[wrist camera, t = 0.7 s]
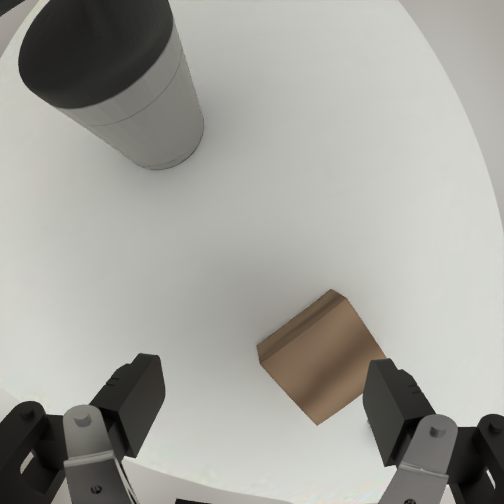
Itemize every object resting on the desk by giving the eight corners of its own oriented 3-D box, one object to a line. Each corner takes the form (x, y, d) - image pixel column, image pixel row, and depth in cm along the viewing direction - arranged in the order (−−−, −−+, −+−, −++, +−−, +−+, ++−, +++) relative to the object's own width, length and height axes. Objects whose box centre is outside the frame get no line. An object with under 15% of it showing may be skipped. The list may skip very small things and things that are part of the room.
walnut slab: (256, 345, 32) (259, 363, 27) (330, 288, 32) (346, 298, 27) (307, 402, 32) (316, 425, 27) (374, 352, 32) (393, 368, 27)
